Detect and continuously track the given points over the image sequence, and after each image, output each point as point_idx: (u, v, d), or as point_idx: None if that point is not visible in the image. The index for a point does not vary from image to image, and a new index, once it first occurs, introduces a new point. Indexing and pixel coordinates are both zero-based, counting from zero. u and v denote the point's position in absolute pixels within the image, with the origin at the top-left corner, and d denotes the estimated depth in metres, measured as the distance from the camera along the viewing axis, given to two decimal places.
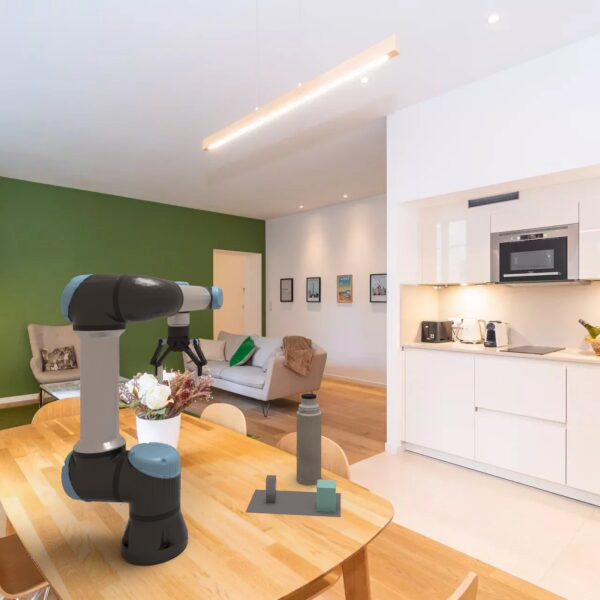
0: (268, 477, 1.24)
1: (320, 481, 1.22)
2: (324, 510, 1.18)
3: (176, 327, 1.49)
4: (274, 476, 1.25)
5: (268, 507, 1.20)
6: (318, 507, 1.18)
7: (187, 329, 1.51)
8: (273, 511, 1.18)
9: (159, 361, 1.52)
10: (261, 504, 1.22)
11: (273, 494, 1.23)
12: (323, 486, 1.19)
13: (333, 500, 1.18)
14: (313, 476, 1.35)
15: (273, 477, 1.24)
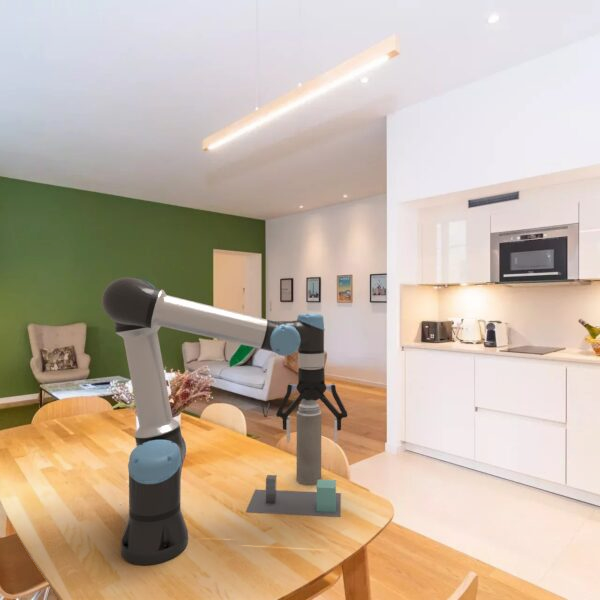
0: (268, 477, 1.24)
1: (320, 481, 1.22)
2: (324, 510, 1.18)
3: (312, 371, 1.20)
4: (274, 476, 1.25)
5: (268, 507, 1.20)
6: (318, 507, 1.18)
7: (323, 372, 1.22)
8: (273, 511, 1.18)
9: (288, 412, 1.23)
10: (261, 504, 1.22)
11: (273, 494, 1.23)
12: (323, 486, 1.19)
13: (333, 500, 1.18)
14: (313, 476, 1.35)
15: (273, 477, 1.24)
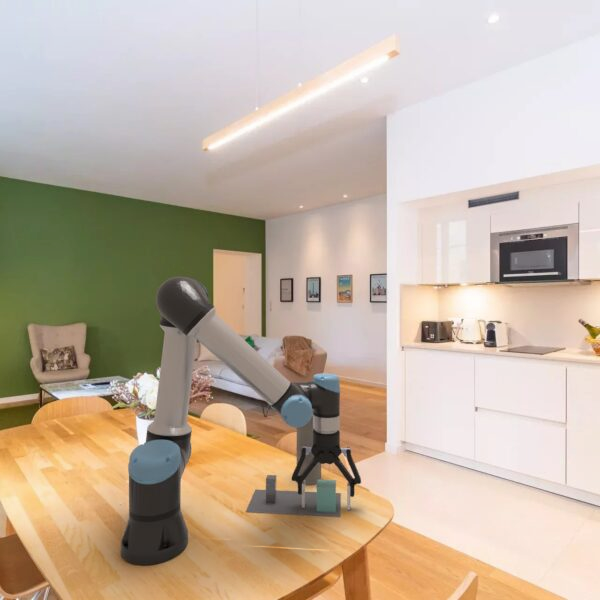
0: (268, 477, 1.24)
1: (320, 481, 1.22)
2: (324, 510, 1.18)
3: (327, 435, 1.17)
4: (274, 476, 1.25)
5: (268, 507, 1.20)
6: (318, 507, 1.18)
7: (339, 436, 1.19)
8: (273, 511, 1.18)
9: (303, 476, 1.20)
10: (261, 504, 1.22)
11: (273, 494, 1.23)
12: (323, 486, 1.19)
13: (333, 500, 1.18)
14: (313, 476, 1.35)
15: (273, 477, 1.24)
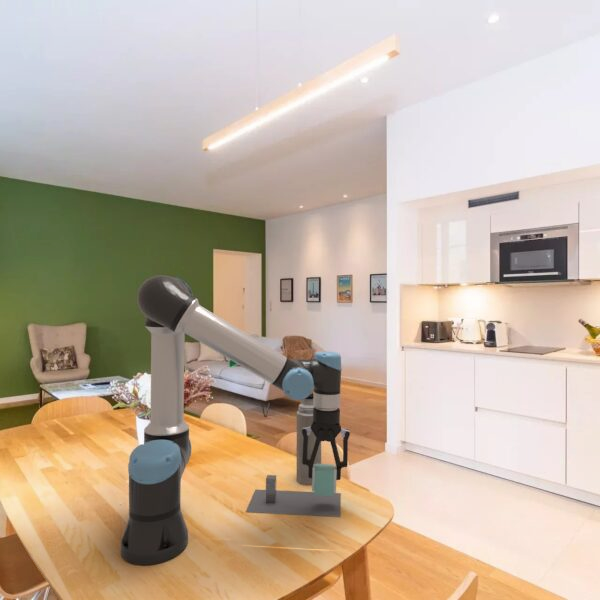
0: (268, 477, 1.24)
1: (318, 465, 1.22)
2: (322, 494, 1.18)
3: (328, 412, 1.17)
4: (274, 476, 1.25)
5: (268, 507, 1.20)
6: (316, 490, 1.18)
7: (339, 413, 1.19)
8: (273, 511, 1.18)
9: (312, 459, 1.20)
10: (261, 504, 1.22)
11: (273, 494, 1.23)
12: (321, 469, 1.19)
13: (331, 484, 1.18)
14: None
15: (273, 477, 1.24)
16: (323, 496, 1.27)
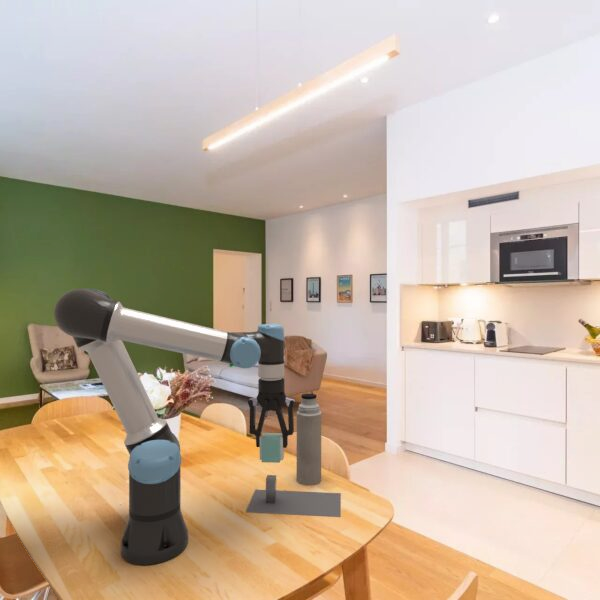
0: (268, 477, 1.24)
1: (266, 434, 1.26)
2: (269, 461, 1.22)
3: (271, 382, 1.20)
4: (274, 476, 1.25)
5: (268, 507, 1.20)
6: (263, 458, 1.22)
7: (283, 383, 1.23)
8: (273, 511, 1.18)
9: (259, 428, 1.23)
10: (261, 504, 1.22)
11: (273, 494, 1.23)
12: (268, 437, 1.23)
13: (277, 451, 1.21)
14: (313, 476, 1.35)
15: (273, 477, 1.24)
16: (323, 496, 1.27)
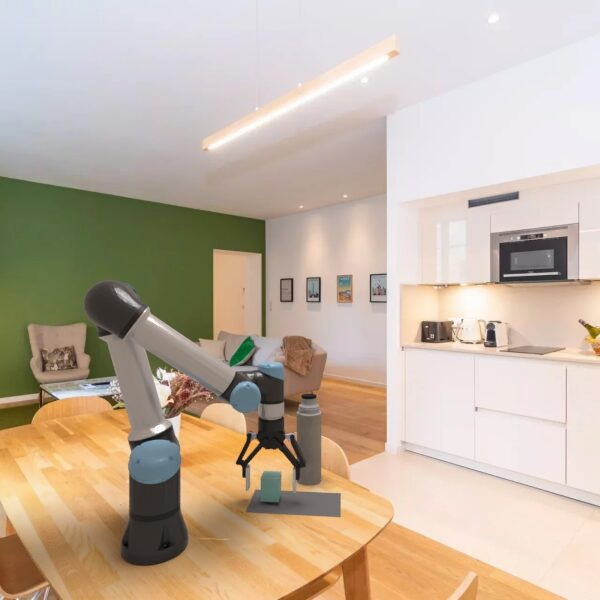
0: None
1: (266, 472, 1.26)
2: (268, 500, 1.22)
3: (271, 421, 1.20)
4: None
5: (268, 507, 1.20)
6: (262, 497, 1.22)
7: (283, 422, 1.23)
8: (273, 511, 1.18)
9: (248, 461, 1.23)
10: (261, 504, 1.22)
11: None
12: (267, 476, 1.23)
13: (276, 490, 1.21)
14: (313, 476, 1.35)
15: None
16: (323, 496, 1.27)
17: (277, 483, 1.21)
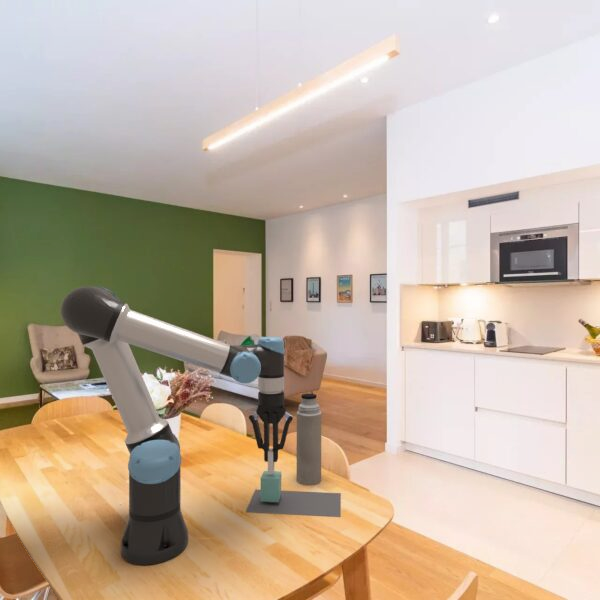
0: None
1: (266, 472, 1.26)
2: (268, 500, 1.22)
3: (271, 395, 1.20)
4: None
5: (268, 507, 1.20)
6: (262, 497, 1.22)
7: (283, 396, 1.23)
8: (273, 511, 1.18)
9: (266, 442, 1.23)
10: (261, 504, 1.22)
11: None
12: (267, 476, 1.23)
13: (276, 490, 1.21)
14: (313, 476, 1.35)
15: None
16: (323, 496, 1.27)
17: (277, 483, 1.21)
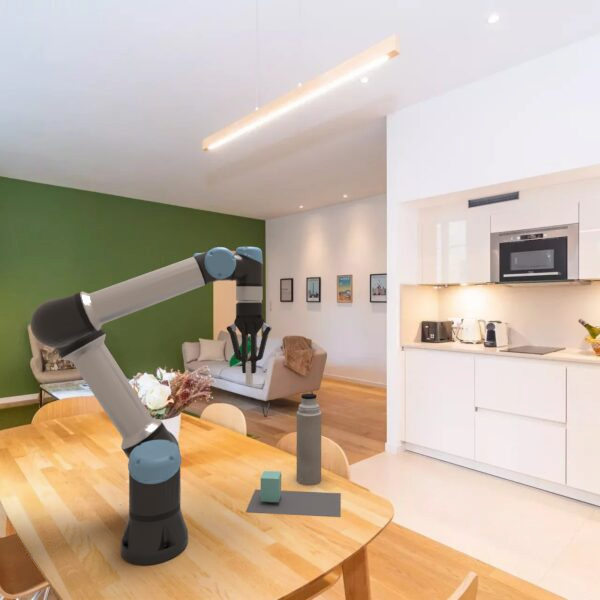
0: None
1: (266, 472, 1.26)
2: (268, 500, 1.22)
3: (248, 303, 1.19)
4: None
5: (268, 507, 1.20)
6: (262, 497, 1.22)
7: (261, 306, 1.21)
8: (273, 511, 1.18)
9: (244, 353, 1.21)
10: (261, 504, 1.22)
11: None
12: (267, 476, 1.23)
13: (276, 490, 1.21)
14: (313, 476, 1.35)
15: None
16: (323, 496, 1.27)
17: (277, 483, 1.21)
